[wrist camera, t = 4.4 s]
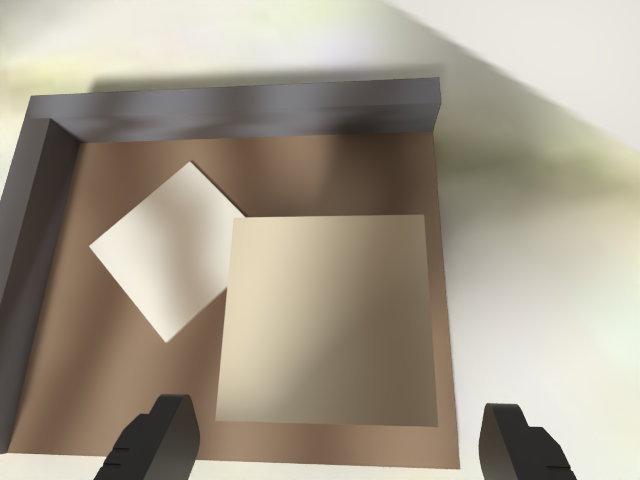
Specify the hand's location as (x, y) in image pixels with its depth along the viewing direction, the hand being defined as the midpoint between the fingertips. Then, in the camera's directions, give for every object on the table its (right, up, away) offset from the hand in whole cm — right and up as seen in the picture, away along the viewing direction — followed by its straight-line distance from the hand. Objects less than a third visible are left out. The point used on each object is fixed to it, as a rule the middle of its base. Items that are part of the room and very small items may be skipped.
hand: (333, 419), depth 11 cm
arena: (-5, +3, +11) cm, 12 cm away
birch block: (+1, 0, +8) cm, 8 cm away
